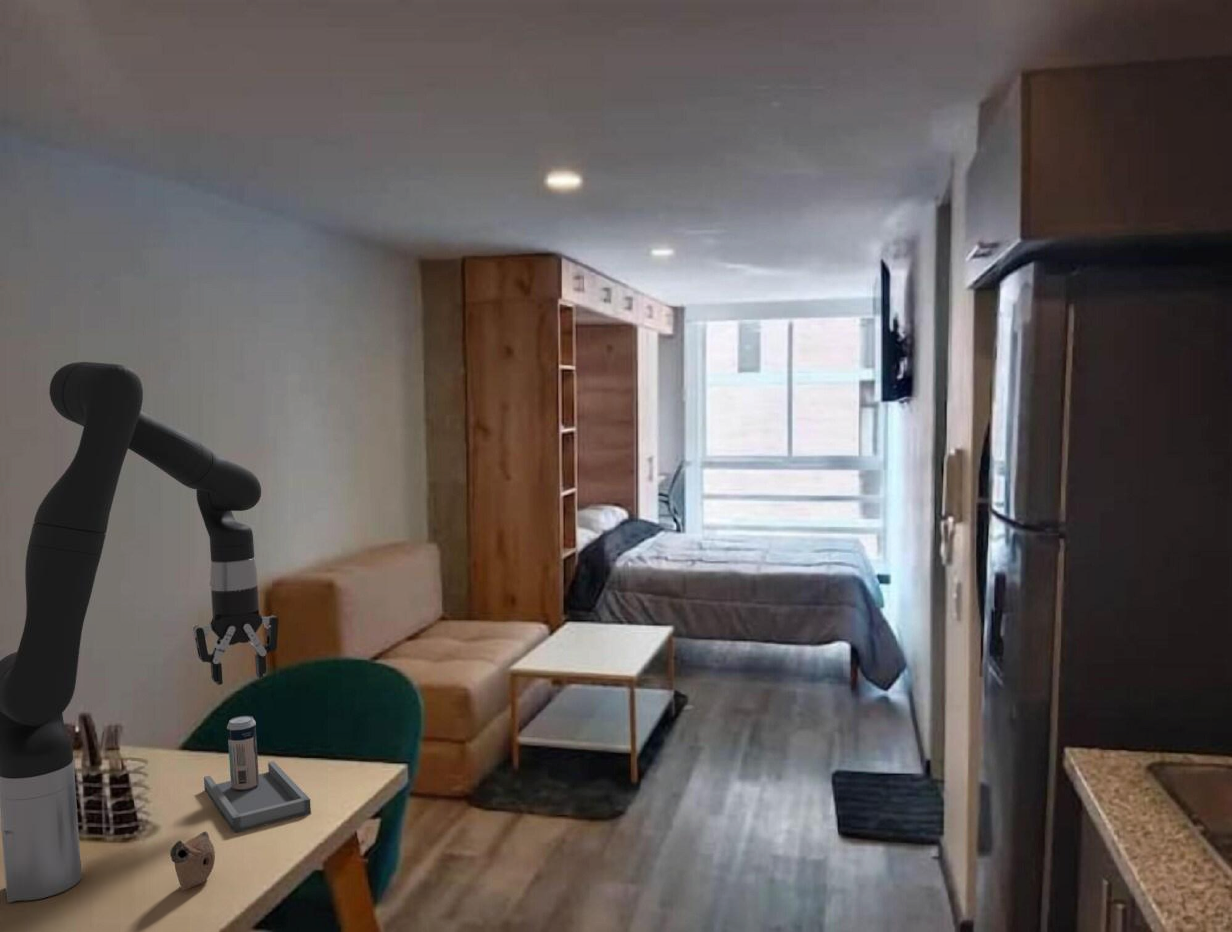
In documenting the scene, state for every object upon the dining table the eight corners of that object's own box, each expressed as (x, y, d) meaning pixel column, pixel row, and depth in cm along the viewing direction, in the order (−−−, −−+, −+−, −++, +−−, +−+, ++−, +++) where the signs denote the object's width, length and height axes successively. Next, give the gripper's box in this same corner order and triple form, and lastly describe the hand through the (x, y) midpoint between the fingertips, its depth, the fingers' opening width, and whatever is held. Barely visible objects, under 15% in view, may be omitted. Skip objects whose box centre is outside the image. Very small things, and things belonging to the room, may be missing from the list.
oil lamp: (188, 904, 133) (185, 846, 132) (160, 903, 133) (157, 846, 133) (223, 872, 142) (219, 818, 141) (196, 872, 142) (193, 818, 142)
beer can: (265, 784, 173) (261, 717, 172) (242, 794, 169) (237, 725, 168) (248, 779, 176) (244, 713, 175) (224, 788, 172) (220, 721, 171)
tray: (234, 833, 155) (233, 818, 155) (204, 790, 173) (203, 776, 173) (310, 813, 162) (310, 799, 161) (274, 773, 180) (273, 761, 180)
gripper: (194, 593, 163) (200, 693, 164) (282, 582, 171) (287, 677, 172) (185, 587, 169) (191, 683, 170) (270, 577, 177) (276, 668, 179)
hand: (239, 679), depth 171 cm, fingers open, 6 cm apart
